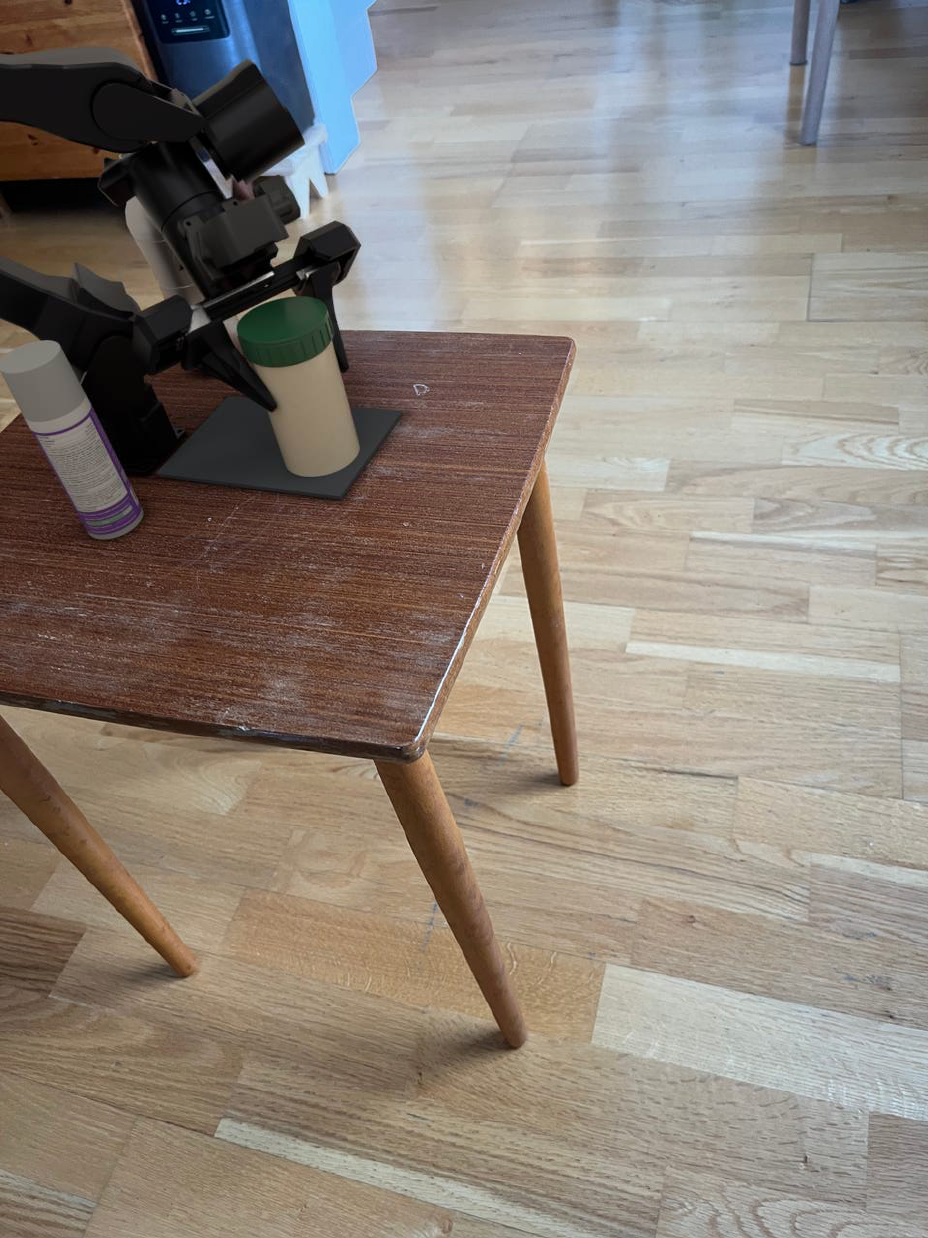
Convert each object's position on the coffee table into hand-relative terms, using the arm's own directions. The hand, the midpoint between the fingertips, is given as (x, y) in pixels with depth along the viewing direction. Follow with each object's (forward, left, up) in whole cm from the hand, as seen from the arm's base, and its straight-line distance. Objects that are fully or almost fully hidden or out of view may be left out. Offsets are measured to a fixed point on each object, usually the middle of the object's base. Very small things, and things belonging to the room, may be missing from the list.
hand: (311, 389), depth 74 cm
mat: (-6, +2, -7) cm, 10 cm away
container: (-15, -10, -7) cm, 20 cm away
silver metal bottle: (-20, +14, -7) cm, 25 cm away
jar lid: (-1, +1, +5) cm, 5 cm away
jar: (-1, +1, -7) cm, 7 cm away
